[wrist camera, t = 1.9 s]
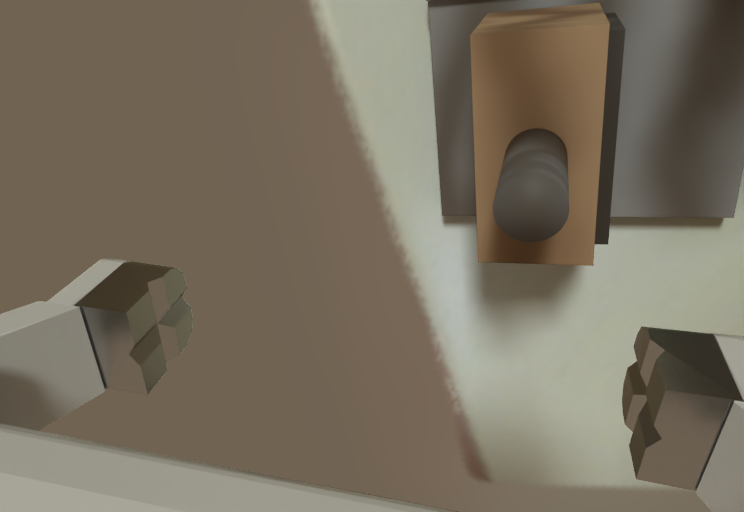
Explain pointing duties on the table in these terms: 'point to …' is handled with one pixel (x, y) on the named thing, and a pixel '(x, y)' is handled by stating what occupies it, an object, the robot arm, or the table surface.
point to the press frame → (623, 104)
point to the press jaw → (545, 132)
